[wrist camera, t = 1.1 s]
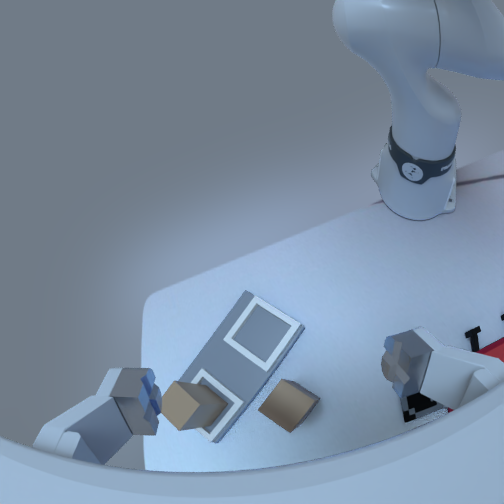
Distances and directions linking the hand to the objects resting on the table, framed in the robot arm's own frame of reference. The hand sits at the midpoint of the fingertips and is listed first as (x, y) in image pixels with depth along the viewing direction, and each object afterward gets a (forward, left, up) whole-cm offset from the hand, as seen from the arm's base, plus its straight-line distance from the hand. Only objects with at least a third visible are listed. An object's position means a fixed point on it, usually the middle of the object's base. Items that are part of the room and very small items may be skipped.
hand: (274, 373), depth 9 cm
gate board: (+6, -14, -36) cm, 39 cm away
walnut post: (+4, -2, -36) cm, 36 cm away
